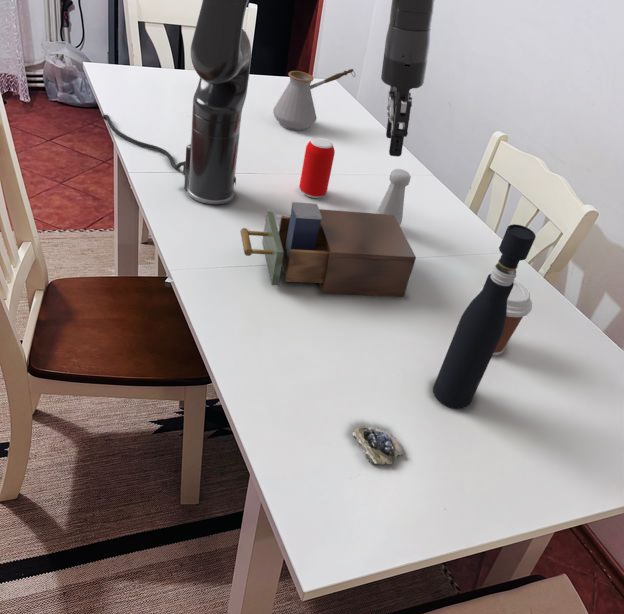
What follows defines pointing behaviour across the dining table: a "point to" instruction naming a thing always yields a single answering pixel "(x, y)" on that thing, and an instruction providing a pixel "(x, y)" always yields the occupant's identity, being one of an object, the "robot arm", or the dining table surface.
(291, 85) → the coffee pot
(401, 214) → the salt shaker
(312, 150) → the beverage can
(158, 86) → the dining table surface
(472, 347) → the black bottle
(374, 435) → the mineral rock
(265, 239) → the drawer
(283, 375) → the dining table surface
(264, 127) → the dining table surface
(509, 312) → the coffee cup
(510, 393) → the dining table surface
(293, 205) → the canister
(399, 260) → the cabinet
